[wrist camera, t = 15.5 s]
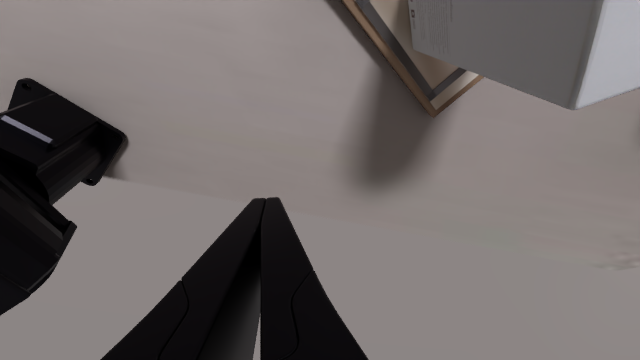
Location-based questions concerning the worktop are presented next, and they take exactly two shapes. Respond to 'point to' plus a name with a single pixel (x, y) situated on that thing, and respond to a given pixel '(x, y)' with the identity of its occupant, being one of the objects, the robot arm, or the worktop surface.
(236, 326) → the robot arm
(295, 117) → the worktop surface
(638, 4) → the skincare box
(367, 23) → the square tray
